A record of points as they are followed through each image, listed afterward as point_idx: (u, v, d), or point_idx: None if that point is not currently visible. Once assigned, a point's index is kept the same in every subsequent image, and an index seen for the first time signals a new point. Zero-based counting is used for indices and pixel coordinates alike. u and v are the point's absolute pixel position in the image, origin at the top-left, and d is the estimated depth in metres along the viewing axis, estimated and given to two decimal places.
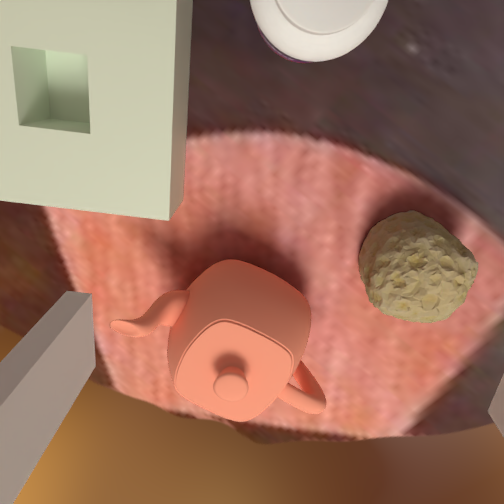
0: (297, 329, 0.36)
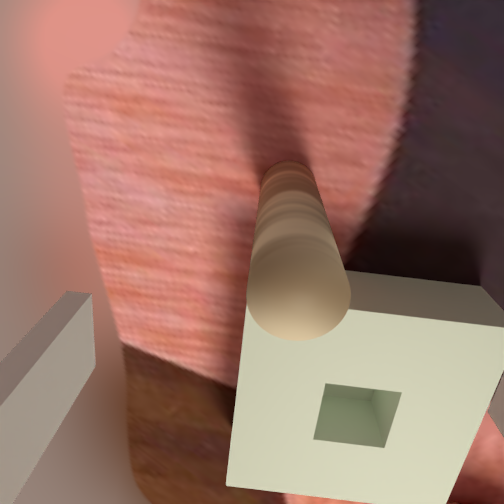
0: None
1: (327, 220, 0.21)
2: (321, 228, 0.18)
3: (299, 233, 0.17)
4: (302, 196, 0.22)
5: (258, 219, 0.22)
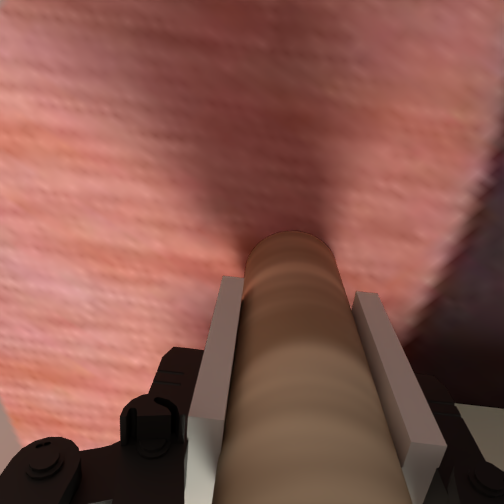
0: None
1: (390, 442, 0.09)
2: None
3: None
4: (328, 369, 0.10)
5: (227, 424, 0.10)
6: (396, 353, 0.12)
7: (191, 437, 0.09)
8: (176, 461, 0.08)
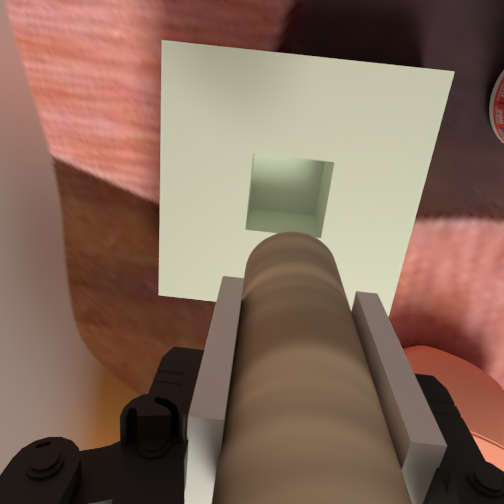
0: None
1: (390, 444, 0.09)
2: None
3: None
4: (328, 370, 0.10)
5: (227, 426, 0.10)
6: (397, 353, 0.12)
7: (191, 437, 0.09)
8: (176, 461, 0.08)
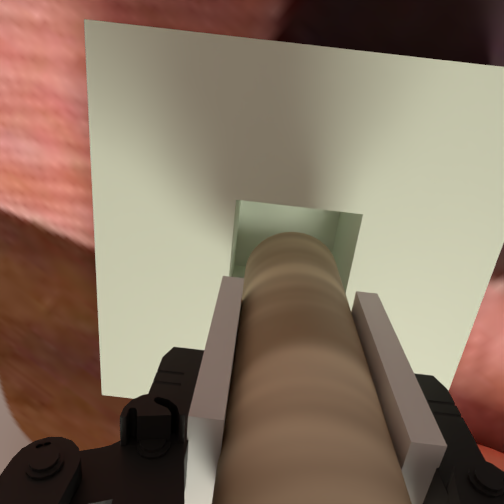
0: None
1: (390, 444, 0.09)
2: None
3: None
4: (328, 371, 0.10)
5: (227, 426, 0.10)
6: (397, 353, 0.12)
7: (191, 437, 0.09)
8: (176, 461, 0.08)
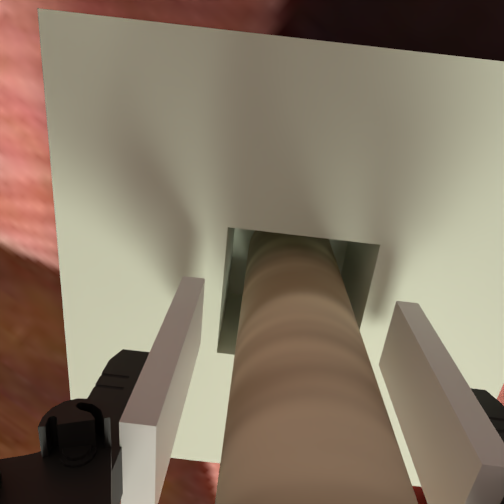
0: None
1: (369, 364, 0.11)
2: (372, 428, 0.08)
3: (329, 480, 0.07)
4: (320, 310, 0.12)
5: (238, 354, 0.12)
6: (449, 367, 0.11)
7: (124, 444, 0.09)
8: (102, 466, 0.08)
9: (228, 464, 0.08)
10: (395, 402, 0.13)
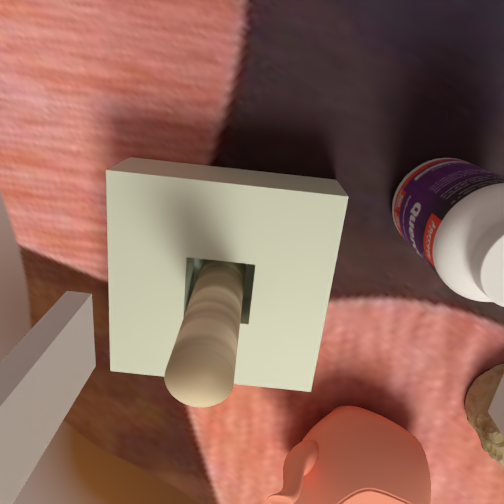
0: (426, 486, 0.39)
1: (235, 312, 0.30)
2: (222, 325, 0.27)
3: (202, 333, 0.25)
4: (218, 292, 0.30)
5: (186, 310, 0.30)
6: None
7: None
8: None
9: (177, 337, 0.27)
10: None
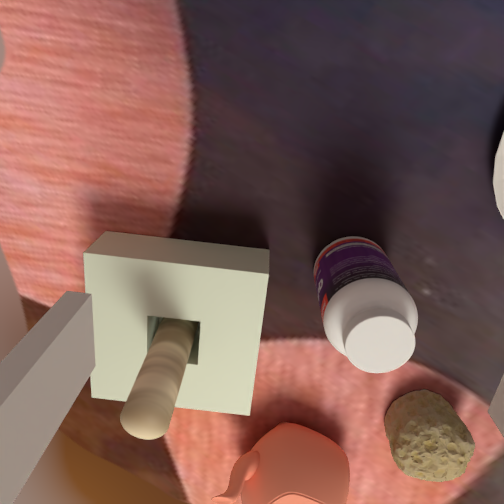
0: (342, 490, 0.49)
1: (179, 363, 0.39)
2: (165, 378, 0.37)
3: (148, 387, 0.35)
4: (168, 347, 0.40)
5: None
6: None
7: None
8: None
9: (132, 387, 0.37)
10: None
